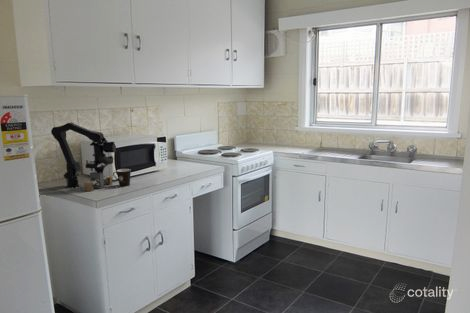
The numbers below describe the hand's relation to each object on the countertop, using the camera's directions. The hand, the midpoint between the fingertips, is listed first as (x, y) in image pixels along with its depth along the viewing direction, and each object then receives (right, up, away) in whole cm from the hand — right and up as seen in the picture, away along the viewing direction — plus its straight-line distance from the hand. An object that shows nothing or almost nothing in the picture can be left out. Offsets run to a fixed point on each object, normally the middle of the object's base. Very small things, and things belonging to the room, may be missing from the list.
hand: (100, 176), depth 231 cm
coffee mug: (+13, -6, +4) cm, 15 cm away
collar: (-1, -7, -2) cm, 7 cm away
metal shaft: (-1, -7, -1) cm, 7 cm away
